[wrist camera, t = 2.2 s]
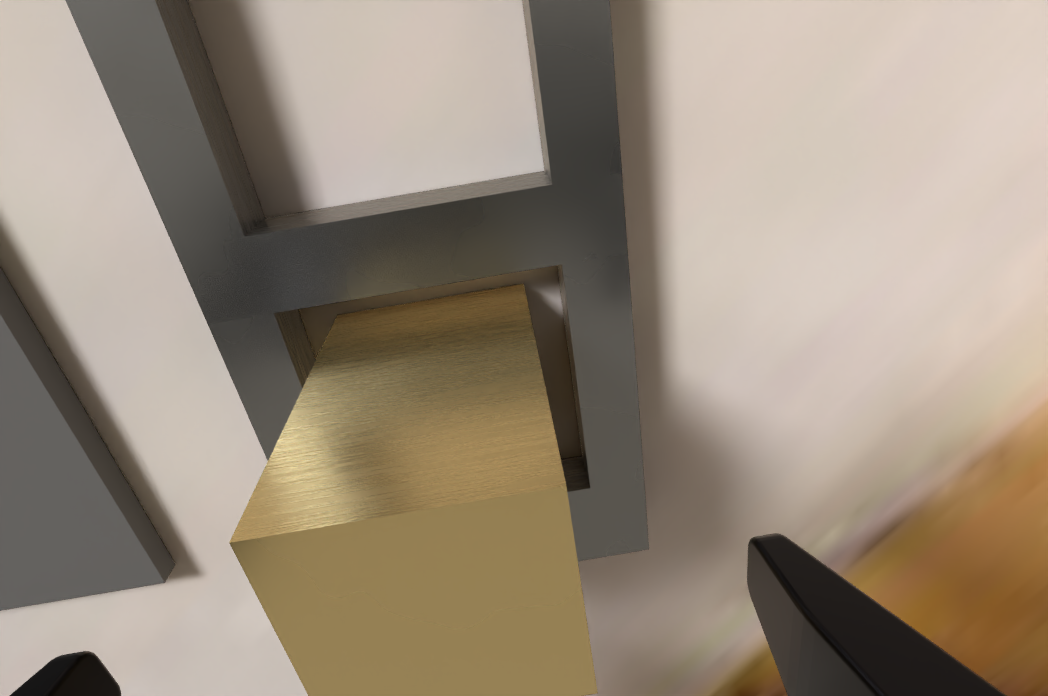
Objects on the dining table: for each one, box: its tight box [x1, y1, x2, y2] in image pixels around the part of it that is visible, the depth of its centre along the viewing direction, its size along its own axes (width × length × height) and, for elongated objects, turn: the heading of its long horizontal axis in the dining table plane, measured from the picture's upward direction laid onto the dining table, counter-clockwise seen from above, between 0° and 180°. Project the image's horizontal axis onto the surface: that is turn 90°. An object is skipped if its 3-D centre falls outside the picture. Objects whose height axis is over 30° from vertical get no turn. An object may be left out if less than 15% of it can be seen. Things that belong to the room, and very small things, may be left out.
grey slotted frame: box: [66, 0, 649, 561], centre depth 10 cm, size 24×8×1 cm, turn 9°
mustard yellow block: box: [229, 284, 597, 696], centre depth 11 cm, size 4×4×6 cm
